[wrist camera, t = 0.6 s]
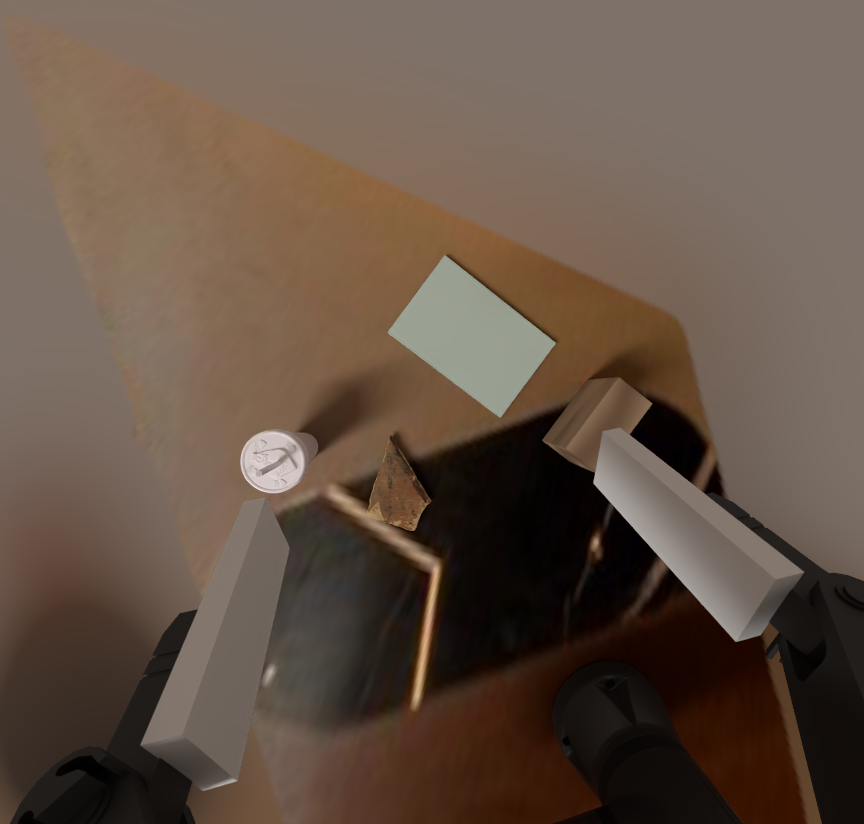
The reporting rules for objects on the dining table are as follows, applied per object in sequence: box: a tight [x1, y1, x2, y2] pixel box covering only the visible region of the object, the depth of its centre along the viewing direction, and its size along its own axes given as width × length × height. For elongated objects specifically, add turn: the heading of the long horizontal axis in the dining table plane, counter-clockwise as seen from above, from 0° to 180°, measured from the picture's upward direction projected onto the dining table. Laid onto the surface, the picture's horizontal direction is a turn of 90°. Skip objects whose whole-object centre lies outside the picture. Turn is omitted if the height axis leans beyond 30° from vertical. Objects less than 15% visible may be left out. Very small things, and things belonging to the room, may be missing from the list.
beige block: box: [542, 377, 652, 472], centre depth 42 cm, size 5×10×7 cm, turn 143°
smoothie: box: [241, 429, 318, 493], centre depth 36 cm, size 6×6×14 cm
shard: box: [367, 436, 431, 530], centre depth 44 cm, size 11×8×2 cm
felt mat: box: [388, 256, 556, 418], centre depth 44 cm, size 18×12×1 cm, turn 53°
